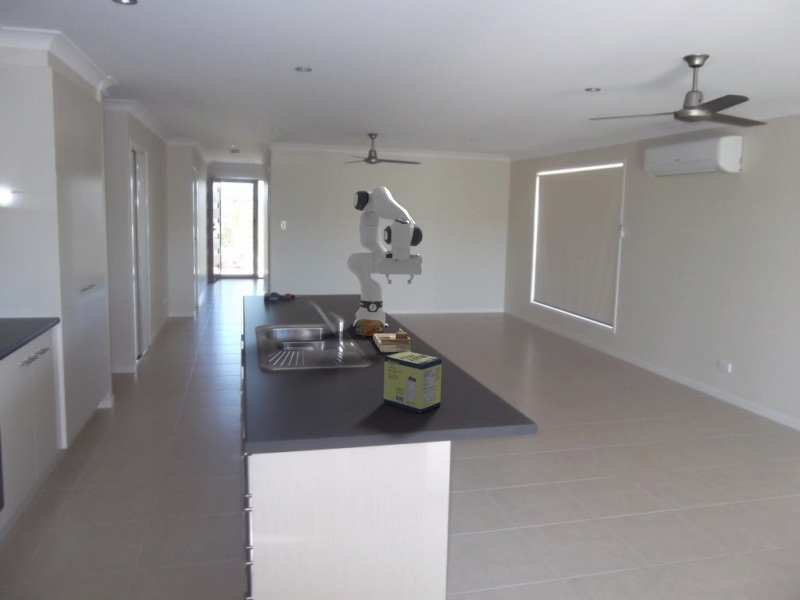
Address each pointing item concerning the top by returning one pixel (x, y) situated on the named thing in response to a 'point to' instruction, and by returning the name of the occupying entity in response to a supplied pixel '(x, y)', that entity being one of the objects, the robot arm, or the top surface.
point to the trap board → (392, 342)
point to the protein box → (412, 381)
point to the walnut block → (401, 335)
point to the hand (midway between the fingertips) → (399, 283)
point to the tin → (369, 327)
